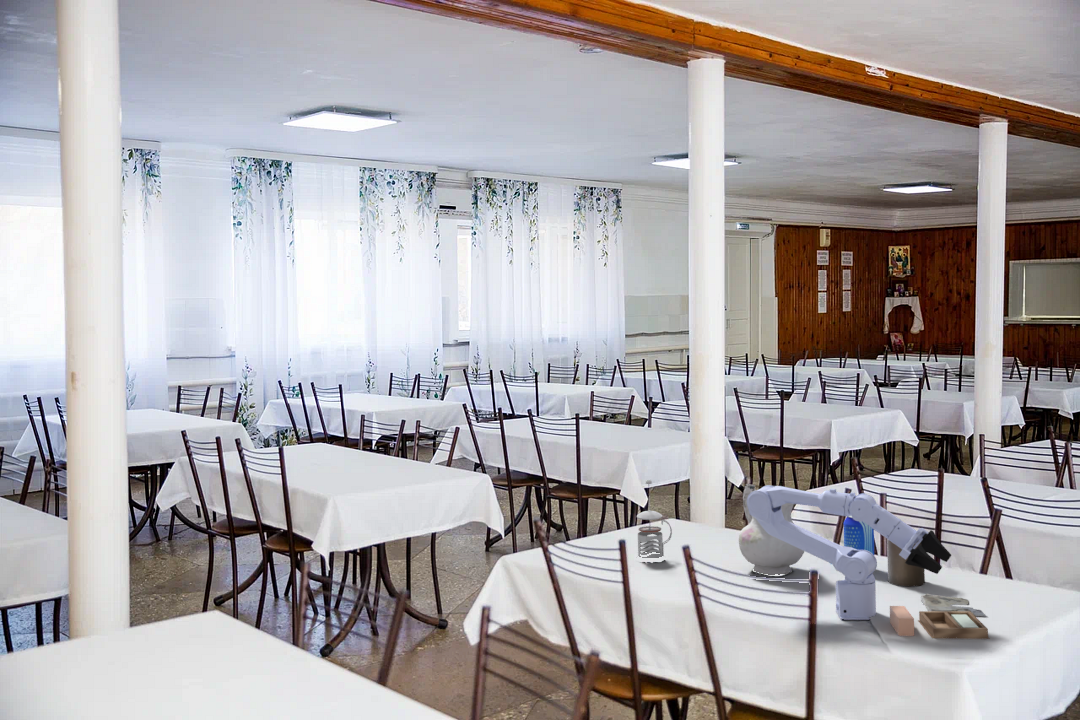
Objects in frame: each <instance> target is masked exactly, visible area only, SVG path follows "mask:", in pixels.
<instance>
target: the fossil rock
mask: <svg viewBox="0 0 1080 720" xmlns="http://www.w3.org/2000/svg"><path fill="white" fill-rule="evenodd" d="M921 602H922V603H923V604H922V603H921ZM920 603H921V604H922V605H923V606H924V607H925V609H926V611H963V612H971V613H972V614H973V615H974V616H975V617H976V618H989V616H988V615H986V613H984V612H983V611H982V610H981V609H976V608H974V607H972V606H971V607H969V606H968V605H969V599H967V598H963V597H956V596H946V595H938V594H937V595H936V594H930V593H925V594H921V595H920Z"/></svg>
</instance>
